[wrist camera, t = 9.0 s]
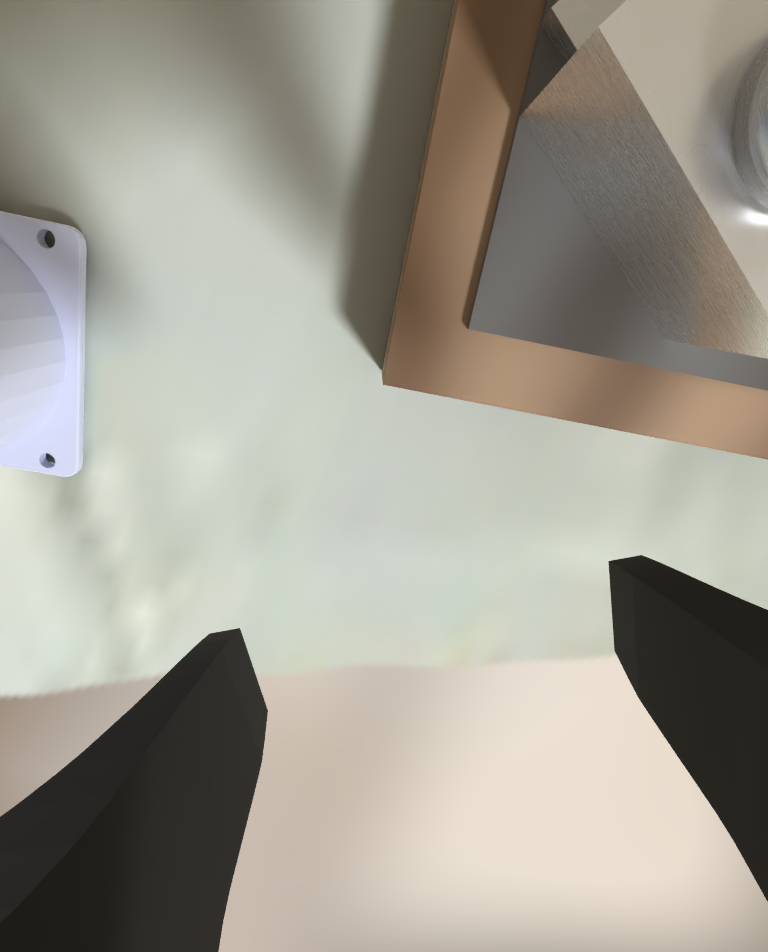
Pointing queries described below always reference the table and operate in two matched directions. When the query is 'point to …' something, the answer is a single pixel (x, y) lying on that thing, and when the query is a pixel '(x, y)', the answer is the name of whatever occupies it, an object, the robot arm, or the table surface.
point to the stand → (539, 270)
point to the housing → (668, 154)
